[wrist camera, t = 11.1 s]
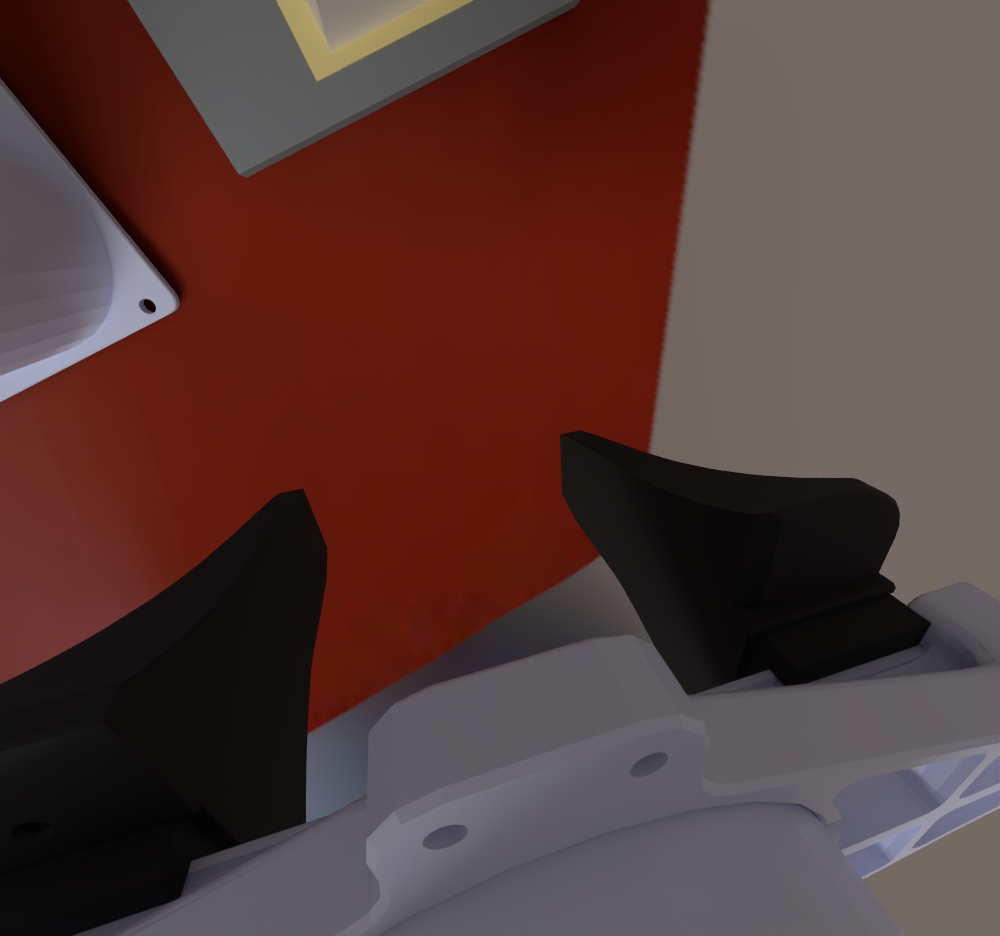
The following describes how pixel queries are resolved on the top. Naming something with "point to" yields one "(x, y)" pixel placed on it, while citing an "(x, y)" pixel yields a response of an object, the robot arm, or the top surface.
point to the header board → (316, 63)
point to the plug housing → (355, 17)
